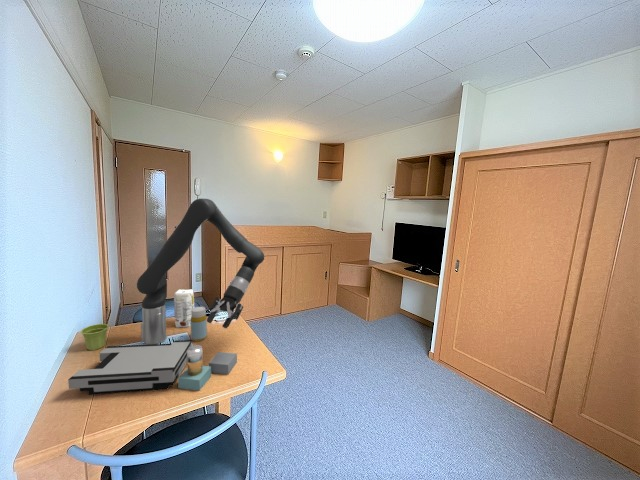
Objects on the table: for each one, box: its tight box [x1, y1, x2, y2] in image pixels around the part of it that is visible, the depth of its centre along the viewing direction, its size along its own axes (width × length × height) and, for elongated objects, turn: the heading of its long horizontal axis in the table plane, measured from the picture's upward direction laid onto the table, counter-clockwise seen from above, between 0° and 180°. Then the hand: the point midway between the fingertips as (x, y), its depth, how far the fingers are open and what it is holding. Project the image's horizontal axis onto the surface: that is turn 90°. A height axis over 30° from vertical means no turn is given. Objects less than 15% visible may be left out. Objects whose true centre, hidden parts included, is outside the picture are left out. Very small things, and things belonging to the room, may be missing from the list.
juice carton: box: [173, 288, 195, 328], centre depth 141 cm, size 8×9×19 cm
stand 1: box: [177, 365, 212, 392], centre depth 98 cm, size 8×8×4 cm
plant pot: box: [80, 323, 109, 351], centre depth 118 cm, size 9×9×9 cm
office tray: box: [67, 339, 193, 396], centre depth 100 cm, size 21×32×8 cm, turn 99°
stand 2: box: [208, 351, 238, 375], centre depth 107 cm, size 8×8×4 cm
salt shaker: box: [186, 344, 204, 376], centre depth 97 cm, size 5×5×9 cm
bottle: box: [190, 306, 208, 342], centre depth 128 cm, size 7×7×15 cm
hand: (216, 325), depth 105 cm, fingers open, 8 cm apart
